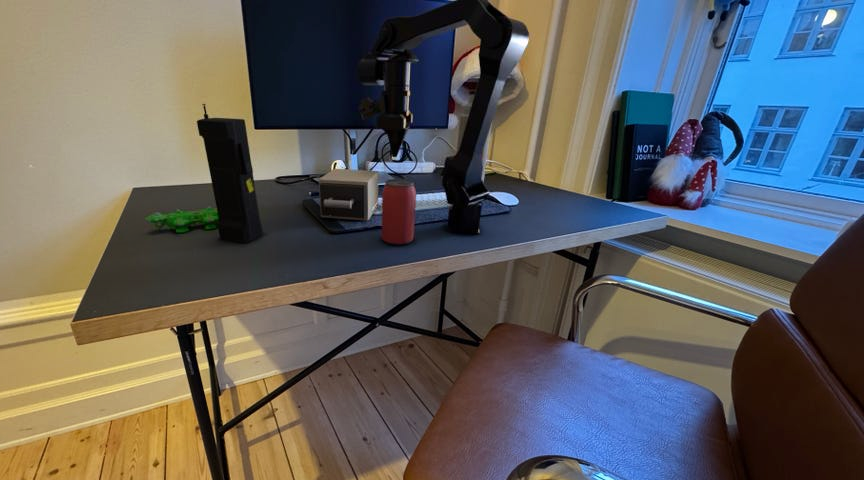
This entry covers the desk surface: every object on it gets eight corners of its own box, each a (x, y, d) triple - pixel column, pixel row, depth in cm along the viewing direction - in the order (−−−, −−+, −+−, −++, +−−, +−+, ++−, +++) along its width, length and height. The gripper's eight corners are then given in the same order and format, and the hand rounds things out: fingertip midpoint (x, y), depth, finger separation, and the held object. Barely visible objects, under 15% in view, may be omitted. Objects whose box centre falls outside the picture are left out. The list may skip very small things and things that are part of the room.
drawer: (360, 224, 81) (359, 192, 78) (315, 221, 83) (313, 189, 79) (374, 204, 95) (374, 176, 92) (335, 202, 97) (334, 174, 93)
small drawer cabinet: (368, 220, 86) (367, 182, 82) (320, 217, 88) (318, 179, 84) (378, 205, 97) (378, 171, 93) (336, 202, 99) (334, 168, 95)
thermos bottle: (481, 207, 98) (498, 90, 85) (451, 205, 99) (463, 90, 86) (479, 199, 105) (494, 90, 92) (451, 197, 106) (462, 90, 93)
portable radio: (269, 234, 77) (252, 104, 66) (251, 244, 72) (229, 105, 61) (238, 229, 79) (216, 103, 68) (218, 239, 74) (191, 104, 63)
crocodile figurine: (150, 227, 80) (145, 208, 78) (238, 217, 87) (235, 199, 85) (147, 238, 74) (141, 217, 72) (241, 226, 81) (238, 207, 79)
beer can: (414, 246, 73) (417, 186, 67) (381, 245, 73) (382, 185, 68) (412, 234, 79) (415, 178, 73) (382, 233, 79) (383, 177, 73)
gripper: (370, 85, 92) (370, 149, 99) (351, 84, 76) (353, 162, 83) (414, 86, 91) (411, 151, 98) (405, 85, 74) (401, 164, 81)
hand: (394, 156), depth 90 cm, fingers closed
